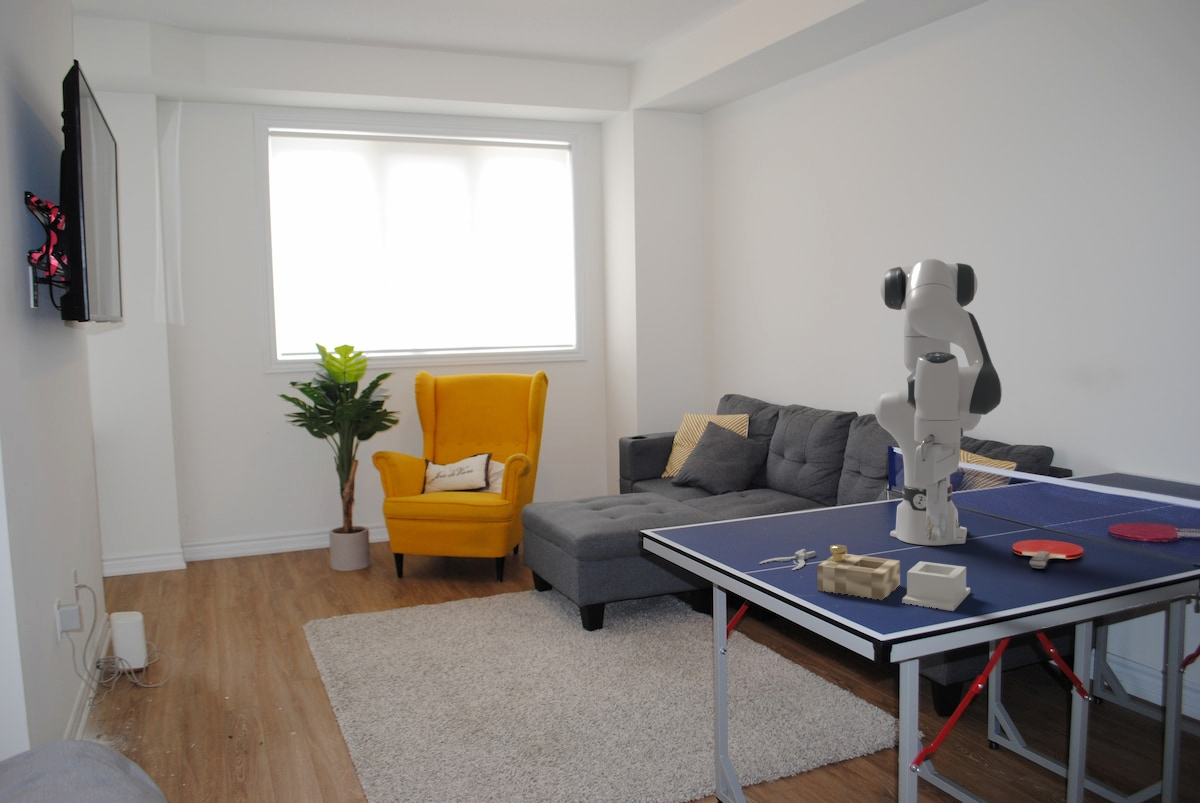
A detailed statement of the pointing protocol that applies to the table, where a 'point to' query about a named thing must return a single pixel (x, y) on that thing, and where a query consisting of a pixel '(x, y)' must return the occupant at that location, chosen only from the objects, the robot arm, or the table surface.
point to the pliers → (798, 555)
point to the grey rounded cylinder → (937, 515)
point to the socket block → (859, 576)
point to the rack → (936, 585)
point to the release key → (838, 552)
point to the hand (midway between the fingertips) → (936, 499)
